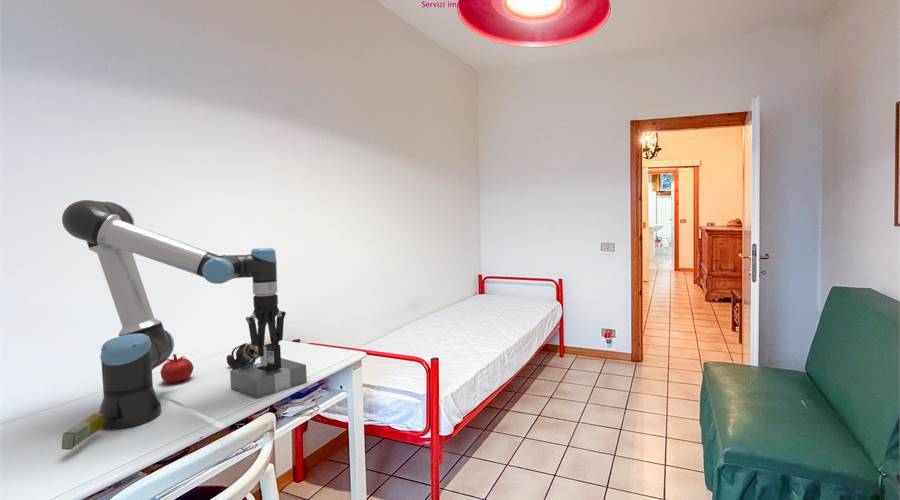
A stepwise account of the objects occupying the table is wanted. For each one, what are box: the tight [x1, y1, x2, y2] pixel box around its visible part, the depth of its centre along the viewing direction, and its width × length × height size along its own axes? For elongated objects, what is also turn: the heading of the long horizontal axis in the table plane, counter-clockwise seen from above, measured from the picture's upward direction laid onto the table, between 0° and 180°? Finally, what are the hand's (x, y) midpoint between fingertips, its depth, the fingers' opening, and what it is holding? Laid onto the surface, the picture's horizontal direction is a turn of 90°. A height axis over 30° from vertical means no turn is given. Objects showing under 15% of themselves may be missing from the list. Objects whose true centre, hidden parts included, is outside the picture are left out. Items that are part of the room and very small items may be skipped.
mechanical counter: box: [226, 342, 260, 369], centre depth 170 cm, size 7×13×10 cm, turn 89°
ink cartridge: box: [265, 343, 282, 369], centre depth 150 cm, size 5×2×8 cm, turn 64°
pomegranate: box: [159, 353, 194, 384], centre depth 160 cm, size 10×10×9 cm
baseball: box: [256, 337, 271, 350], centre depth 191 cm, size 7×7×7 cm
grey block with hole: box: [229, 357, 308, 400], centre depth 151 cm, size 18×16×6 cm
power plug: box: [231, 353, 257, 370], centre depth 158 cm, size 6×8×12 cm
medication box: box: [61, 413, 104, 450], centre depth 115 cm, size 12×3×4 cm, turn 7°
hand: (268, 364), depth 151 cm, fingers closed on ink cartridge, 2 cm apart
